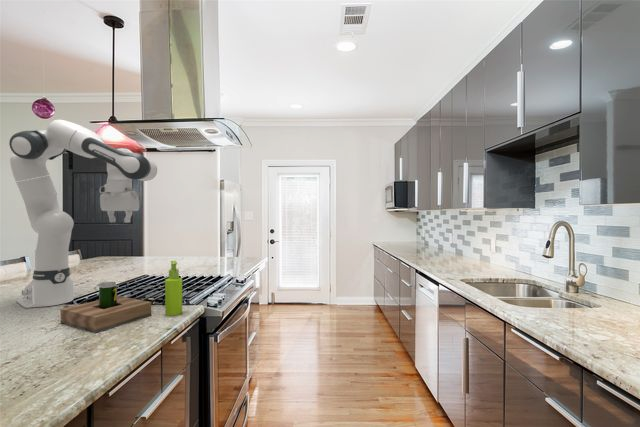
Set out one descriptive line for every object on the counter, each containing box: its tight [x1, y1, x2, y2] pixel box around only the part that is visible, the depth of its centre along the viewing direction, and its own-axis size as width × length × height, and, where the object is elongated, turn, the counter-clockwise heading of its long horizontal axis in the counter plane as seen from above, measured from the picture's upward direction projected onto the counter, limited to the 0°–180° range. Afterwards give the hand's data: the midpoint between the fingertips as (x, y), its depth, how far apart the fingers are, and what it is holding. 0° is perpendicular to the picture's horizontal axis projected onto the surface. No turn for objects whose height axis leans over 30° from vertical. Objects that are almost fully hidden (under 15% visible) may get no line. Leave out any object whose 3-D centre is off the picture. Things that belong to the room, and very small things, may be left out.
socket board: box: [60, 295, 152, 334], centre depth 121 cm, size 20×20×5 cm
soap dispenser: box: [164, 260, 183, 317], centre depth 127 cm, size 6×7×20 cm
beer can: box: [98, 281, 118, 309], centre depth 121 cm, size 5×5×12 cm
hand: (119, 222), depth 138 cm, fingers open, 8 cm apart
